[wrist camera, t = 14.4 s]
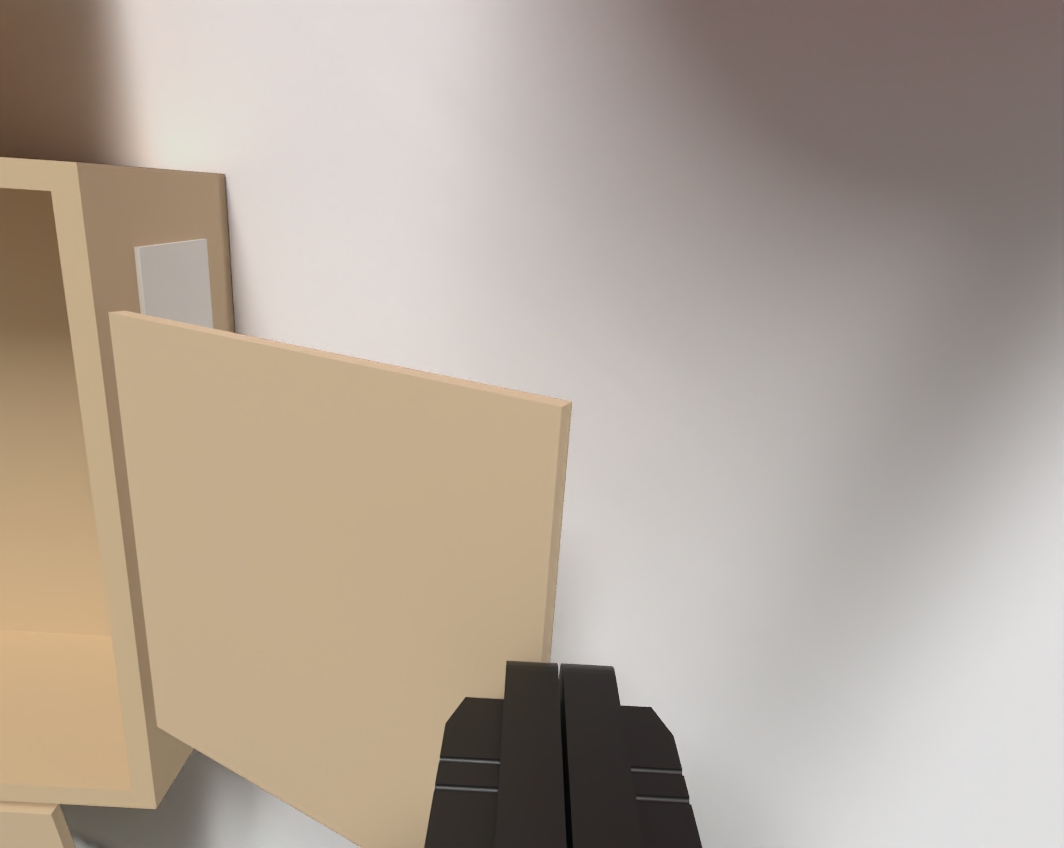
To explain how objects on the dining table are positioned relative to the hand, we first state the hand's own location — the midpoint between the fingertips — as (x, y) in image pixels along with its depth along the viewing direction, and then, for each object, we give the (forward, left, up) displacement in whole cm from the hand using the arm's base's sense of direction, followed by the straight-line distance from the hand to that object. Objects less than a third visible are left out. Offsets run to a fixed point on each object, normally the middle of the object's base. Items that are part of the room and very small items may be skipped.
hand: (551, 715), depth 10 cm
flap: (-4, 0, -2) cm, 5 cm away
